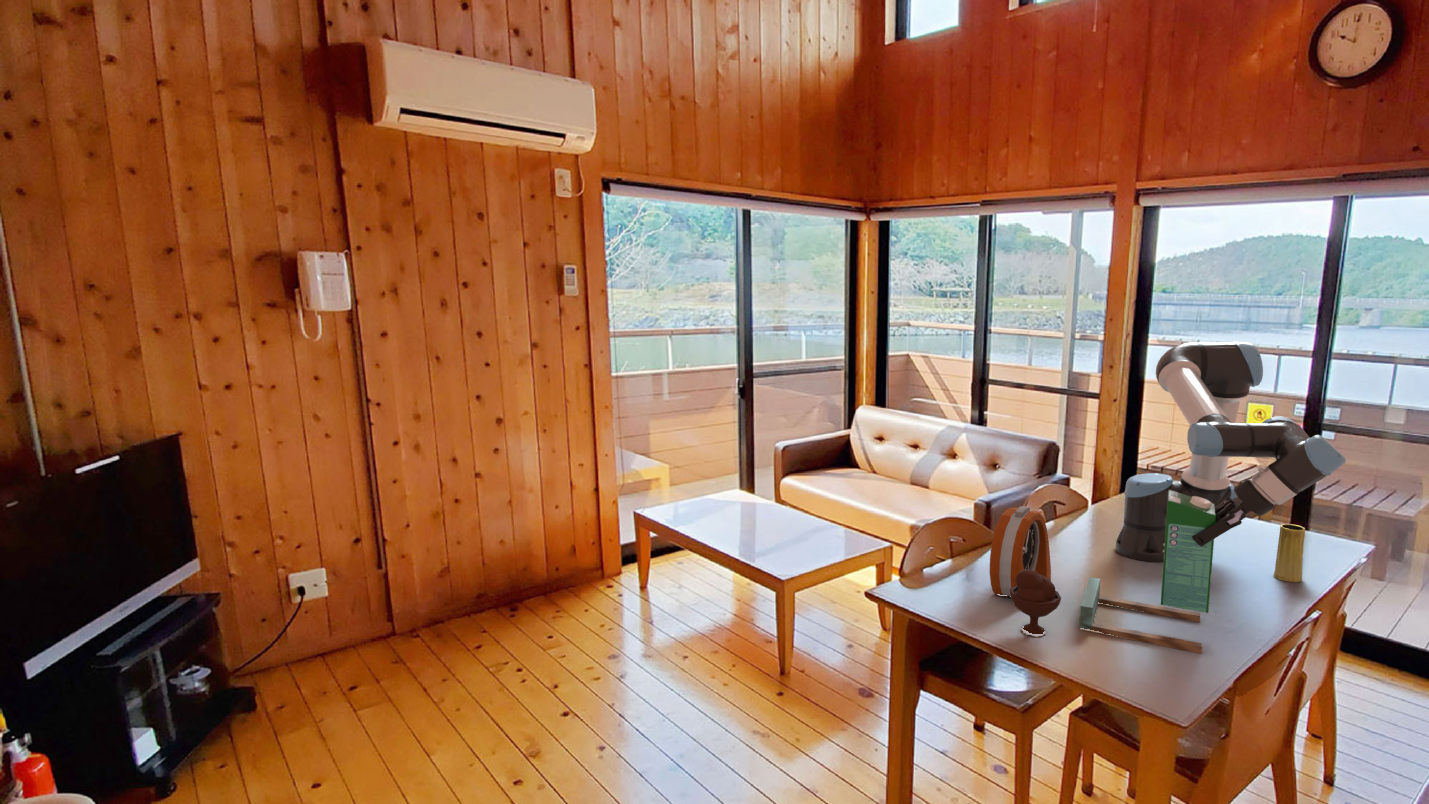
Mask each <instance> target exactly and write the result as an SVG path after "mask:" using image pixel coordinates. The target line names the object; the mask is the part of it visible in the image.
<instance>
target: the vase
mask: <svg viewBox="0 0 1429 804" xmlns="http://www.w3.org/2000/svg"><path fill="white" fill-rule="evenodd" d="M1278 534H1279V535H1278V536H1279V537H1278V542H1277V543H1278V544H1277V550H1276V559H1275V565H1274V572H1273V577H1274V578H1276V579H1277V580H1280V581H1284V582H1287V583H1301V582H1302V581H1303V565H1304V564H1303V562H1304V561H1303V559H1304V558H1303V557H1304V543H1305V535H1306V528H1305V527H1303V526H1301V525H1297V524H1292V523H1283V524H1282V523H1281V524H1280V526H1279V533H1278Z"/></svg>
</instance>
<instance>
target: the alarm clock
mask: <svg viewBox="0 0 1429 804" xmlns="http://www.w3.org/2000/svg"><path fill="white" fill-rule="evenodd" d="M996 524H997V525H996V527H995V530H994V534H993V538H992V541H991V546H990V548H991V549H990V555H989V580H990V586H991V590H992V592H993V593H995V594H1000V595H1007V596H1006V597H1008V596H1011V595H1010V589H1011V588H1012V587H1014V586H1016V585H1017V584H1016V580H1015V578H1016V576H1017V575H1018V573H1019V572H1020V571H1022V570H1025V569H1030V570H1033V571H1036V572H1038V573H1039V574H1040V575H1043V576H1045V577H1047V578H1048V579H1049V580H1050V581H1051V582H1052V566H1051V553H1050V541H1049V534H1048V529H1047V524H1046V520H1045V517H1044V516H1043V515H1042V513H1040V511H1036V510H1031V507H1030V506H1027V505H1021V506H1019V507H1011V508H1010V507H1009V508H1007V509H1005V511H1004V512H1003V513H1002V514H1001V515H1000V518H999V519H998V522H997V523H996ZM995 594H994V595H995Z"/></svg>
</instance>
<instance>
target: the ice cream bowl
mask: <svg viewBox="0 0 1429 804" xmlns="http://www.w3.org/2000/svg"><path fill="white" fill-rule="evenodd" d="M1015 580H1016V584H1017V585H1016V586H1014V587H1012V588H1011V589H1010V595H1011V597H1010V598H1011V600H1012V602H1013V604H1014V607H1016V609H1017V610H1018V611H1020V612H1021V613H1023V614H1025V615H1027V616H1029V623H1027V624H1024V625H1023V626H1024V628H1023V629H1024V630H1026V631H1028V632H1029V633H1032V634H1043V632H1044V631H1046V629H1045V627H1042V626H1041V625H1039V618H1044V617H1046V616H1048V615H1049V614H1051V613H1052V612H1054V611H1055V610H1057V609H1058V607H1059V606H1060V603H1061V600H1062V597H1061V595H1060V594H1059V592H1058V591H1057V590H1056V587H1055V584H1054V583H1053V582H1052V580H1051V581H1050V580H1049V579H1048V578H1047V577H1045V576H1043V575H1040V574H1039V573H1038V572H1036V571H1033V570H1030V569H1025V570H1022V571H1020V572H1019V573H1018V575H1017V576H1016V578H1015ZM1044 629H1045V630H1044Z"/></svg>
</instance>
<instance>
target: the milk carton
mask: <svg viewBox="0 0 1429 804" xmlns="http://www.w3.org/2000/svg"><path fill="white" fill-rule="evenodd" d="M1215 521H1216V513H1215V505H1214V504H1213V503H1211V502H1210V501H1209V500H1206V499H1204V498H1201V497H1197V496H1193V497H1190V496H1187V495H1184V494H1181V493H1178V492H1175V491H1171V490H1168V503H1167V518H1166V533H1165V548H1164V561H1163V565H1162V577H1161V578H1162V579H1161V581H1162V582H1161V595H1160V596H1161V597H1160V606H1163V607H1169V608H1175V609H1181V610H1186V611H1192V612H1198V613H1206V614H1208V613H1209V607H1210V595H1211V594H1210V593H1211V585H1212V584H1211V583H1212V571H1213V570H1212V569H1213V558H1214V555H1213V554H1214V545H1215V543H1214V542H1215V539H1213V540H1211V541H1210V542H1208V543H1206V544H1205V545H1204V546H1200V545H1199V544H1197V543H1196V542H1195V541H1194V540H1193V538H1192V537H1193V535H1196V534H1197V533H1199V532H1201V531H1202V530H1204V529H1205V528H1207V527H1208V526H1210V525H1212V524H1213V523H1215Z"/></svg>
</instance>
